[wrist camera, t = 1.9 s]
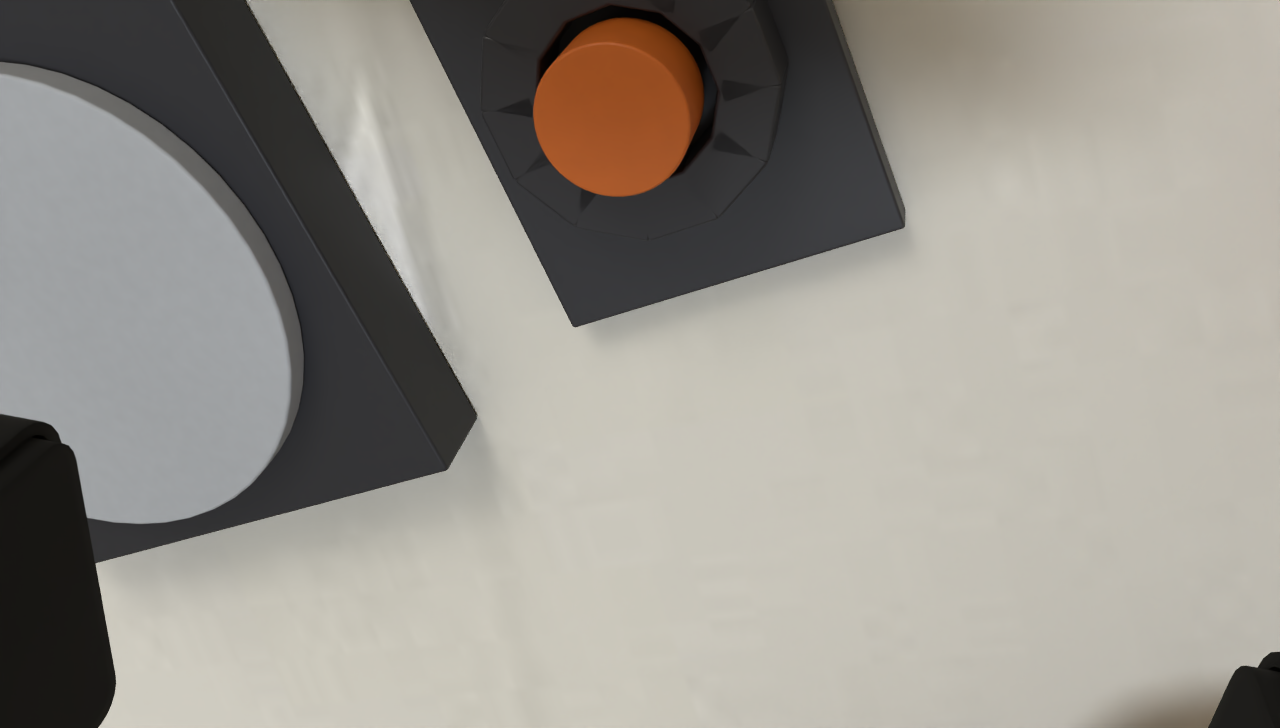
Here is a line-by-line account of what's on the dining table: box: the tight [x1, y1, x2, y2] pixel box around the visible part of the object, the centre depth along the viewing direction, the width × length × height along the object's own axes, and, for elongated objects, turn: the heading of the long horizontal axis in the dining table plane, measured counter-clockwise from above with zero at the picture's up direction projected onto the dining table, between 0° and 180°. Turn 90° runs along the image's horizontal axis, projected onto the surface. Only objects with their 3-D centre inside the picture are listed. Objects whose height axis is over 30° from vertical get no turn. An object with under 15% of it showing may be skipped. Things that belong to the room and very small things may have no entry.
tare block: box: [410, 0, 905, 327], centre depth 24 cm, size 10×8×2 cm
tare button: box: [533, 17, 704, 197], centre depth 23 cm, size 3×3×2 cm
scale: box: [0, 0, 477, 563], centre depth 29 cm, size 14×14×3 cm
